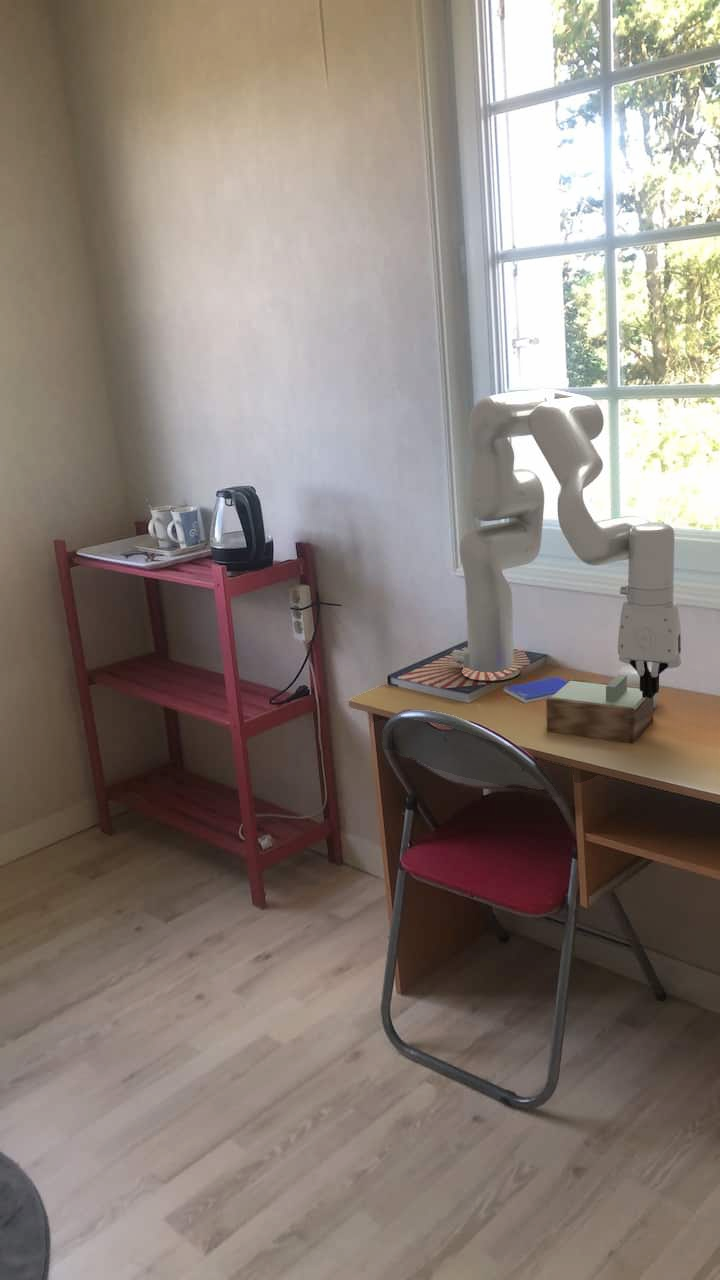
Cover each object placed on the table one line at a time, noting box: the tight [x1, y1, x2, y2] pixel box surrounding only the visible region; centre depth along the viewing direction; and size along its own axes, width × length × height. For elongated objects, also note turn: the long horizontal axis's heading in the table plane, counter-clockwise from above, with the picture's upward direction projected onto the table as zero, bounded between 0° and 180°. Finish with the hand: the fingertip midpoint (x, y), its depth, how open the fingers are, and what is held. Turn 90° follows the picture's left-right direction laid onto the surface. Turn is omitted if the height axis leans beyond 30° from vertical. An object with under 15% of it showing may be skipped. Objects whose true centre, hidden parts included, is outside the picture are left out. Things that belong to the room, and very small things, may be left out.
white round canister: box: [618, 664, 658, 710], centre depth 208 cm, size 7×7×7 cm
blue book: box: [503, 676, 569, 704], centre depth 219 cm, size 2×8×12 cm
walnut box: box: [545, 678, 654, 744], centre depth 199 cm, size 16×12×6 cm
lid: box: [551, 673, 647, 710], centre depth 197 cm, size 15×10×4 cm, turn 59°
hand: (649, 695), depth 193 cm, fingers closed
